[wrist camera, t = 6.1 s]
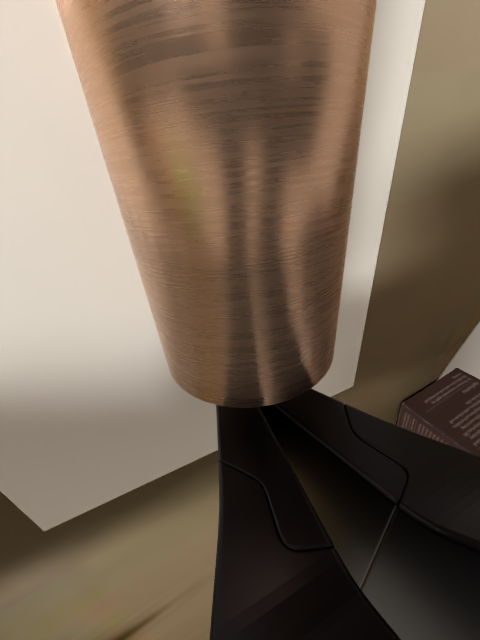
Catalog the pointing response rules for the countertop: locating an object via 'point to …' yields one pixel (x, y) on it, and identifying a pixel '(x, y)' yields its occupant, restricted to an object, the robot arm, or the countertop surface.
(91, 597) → the countertop surface
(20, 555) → the countertop surface
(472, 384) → the box
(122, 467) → the slab
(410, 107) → the countertop surface
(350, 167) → the tube
